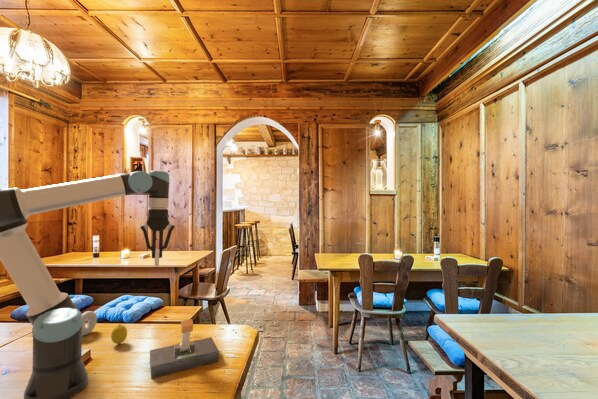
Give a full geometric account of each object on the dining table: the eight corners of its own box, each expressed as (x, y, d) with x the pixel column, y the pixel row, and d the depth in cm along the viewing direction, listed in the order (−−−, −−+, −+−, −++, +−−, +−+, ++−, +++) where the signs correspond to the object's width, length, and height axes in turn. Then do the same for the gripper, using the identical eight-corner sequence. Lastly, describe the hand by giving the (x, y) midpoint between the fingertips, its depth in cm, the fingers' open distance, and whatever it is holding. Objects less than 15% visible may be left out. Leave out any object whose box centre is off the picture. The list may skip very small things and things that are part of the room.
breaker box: (151, 378, 96) (151, 360, 96) (149, 361, 106) (150, 344, 106) (218, 361, 107) (218, 345, 107) (211, 347, 117) (211, 332, 117)
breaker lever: (179, 352, 105) (182, 327, 99) (178, 346, 107) (181, 320, 101) (189, 350, 107) (193, 325, 101) (188, 344, 109) (192, 318, 103)
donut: (80, 340, 122) (80, 316, 122) (72, 339, 122) (73, 315, 122) (98, 329, 132) (99, 307, 132) (91, 329, 132) (91, 307, 132)
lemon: (130, 341, 121) (130, 322, 121) (120, 348, 116) (120, 327, 116) (117, 340, 122) (117, 321, 122) (107, 347, 116) (107, 327, 116)
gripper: (174, 208, 127) (172, 263, 126) (140, 208, 120) (138, 265, 120) (176, 209, 120) (174, 266, 120) (140, 208, 114) (138, 269, 113)
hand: (156, 265), depth 120 cm, fingers closed
